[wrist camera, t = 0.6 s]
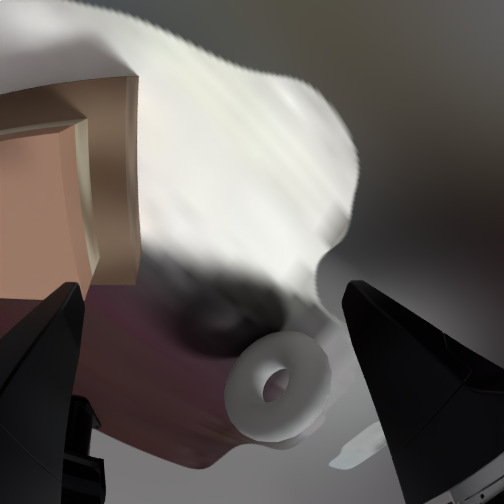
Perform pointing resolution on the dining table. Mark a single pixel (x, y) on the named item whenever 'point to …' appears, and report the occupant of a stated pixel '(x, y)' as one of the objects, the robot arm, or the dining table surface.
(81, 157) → the tile lower
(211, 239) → the dining table surface
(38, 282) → the tile upper
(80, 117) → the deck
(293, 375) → the donut
